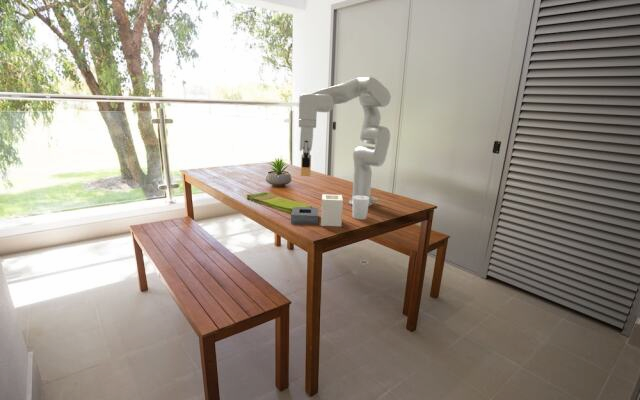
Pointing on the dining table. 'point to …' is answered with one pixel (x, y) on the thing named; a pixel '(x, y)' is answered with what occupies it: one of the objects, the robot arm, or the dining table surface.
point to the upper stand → (331, 210)
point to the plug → (306, 168)
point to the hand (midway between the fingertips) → (306, 165)
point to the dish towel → (275, 201)
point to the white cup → (360, 206)
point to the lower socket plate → (304, 215)
